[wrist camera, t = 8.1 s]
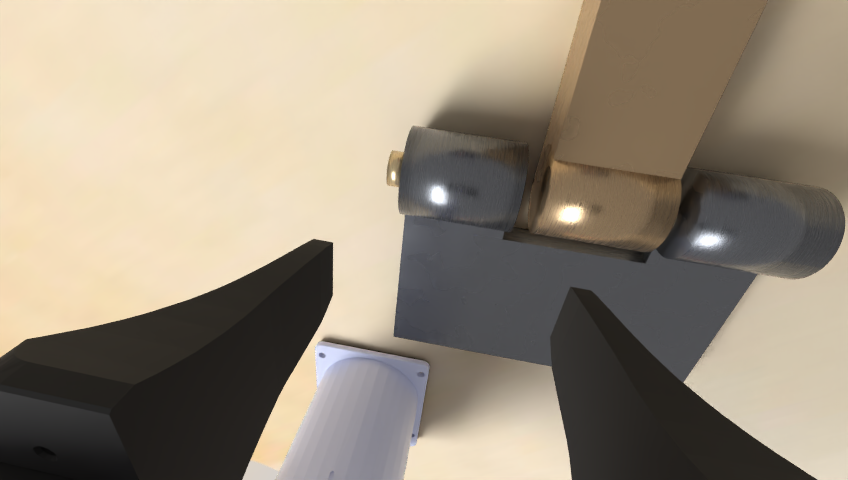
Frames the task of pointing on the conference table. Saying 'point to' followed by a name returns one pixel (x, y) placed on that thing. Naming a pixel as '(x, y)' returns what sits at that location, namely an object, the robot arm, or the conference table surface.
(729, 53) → the brown boxy piece
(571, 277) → the metal hinge
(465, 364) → the conference table surface
